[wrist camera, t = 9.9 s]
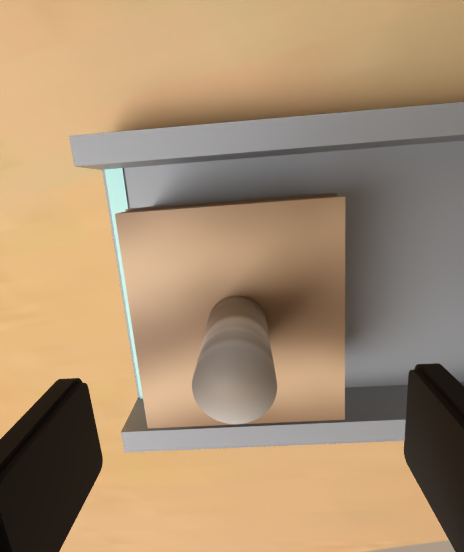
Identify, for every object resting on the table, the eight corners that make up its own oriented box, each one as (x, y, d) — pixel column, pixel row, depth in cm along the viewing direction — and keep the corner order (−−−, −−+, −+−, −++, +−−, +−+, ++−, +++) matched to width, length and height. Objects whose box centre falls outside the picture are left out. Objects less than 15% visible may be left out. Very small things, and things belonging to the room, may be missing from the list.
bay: (104, 146, 24) (59, 133, 18) (561, 107, 23) (671, 79, 17) (144, 408, 29) (119, 463, 23) (522, 389, 28) (597, 444, 22)
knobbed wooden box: (149, 204, 24) (44, 224, 11) (317, 192, 23) (404, 197, 11) (170, 368, 27) (106, 529, 14) (319, 360, 26) (390, 521, 14)
